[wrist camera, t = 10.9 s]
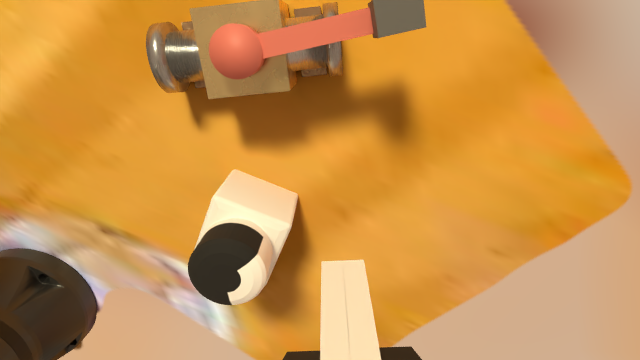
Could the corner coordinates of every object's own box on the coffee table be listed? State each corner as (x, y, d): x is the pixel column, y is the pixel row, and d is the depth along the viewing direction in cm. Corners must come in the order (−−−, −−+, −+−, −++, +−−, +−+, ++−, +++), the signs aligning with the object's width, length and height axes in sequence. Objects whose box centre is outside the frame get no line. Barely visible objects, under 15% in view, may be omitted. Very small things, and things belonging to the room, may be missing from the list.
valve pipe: (185, 93, 38) (156, 104, 32) (168, 19, 36) (134, 15, 29) (342, 77, 37) (344, 85, 31) (336, -1, 34) (336, -9, 28)
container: (213, 225, 43) (166, 298, 31) (233, 167, 41) (191, 222, 29) (275, 248, 44) (253, 328, 32) (299, 193, 42) (285, 257, 29)
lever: (224, 81, 31) (208, 88, 27) (209, 30, 29) (190, 29, 25) (414, 39, 29) (427, 39, 25) (408, -18, 28) (420, -26, 24)
